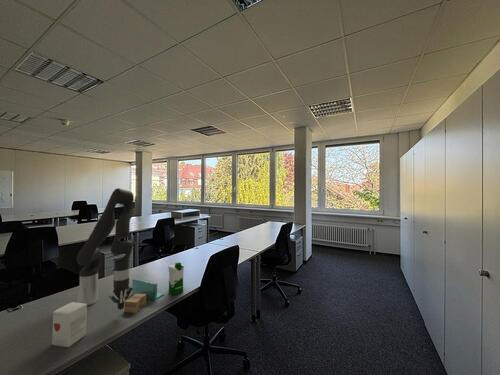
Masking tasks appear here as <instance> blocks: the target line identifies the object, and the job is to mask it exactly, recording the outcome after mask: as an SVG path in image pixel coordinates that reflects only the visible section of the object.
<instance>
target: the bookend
mask: <svg viewBox="0 0 500 375" xmlns="http://www.w3.org/2000/svg"><path fill="white" fill-rule="evenodd" d="M131 285H132V286H131V288H133V289H132V291H131V295H132V296H133V295H134V294H146V299H148V300H153V301H156V300H158V299H160V298H161V297H163V296H164V295H165V293H162V292H158V283H157V282H154V281H148V280H144V279H139V278H133V279H132V284H131Z"/></svg>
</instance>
